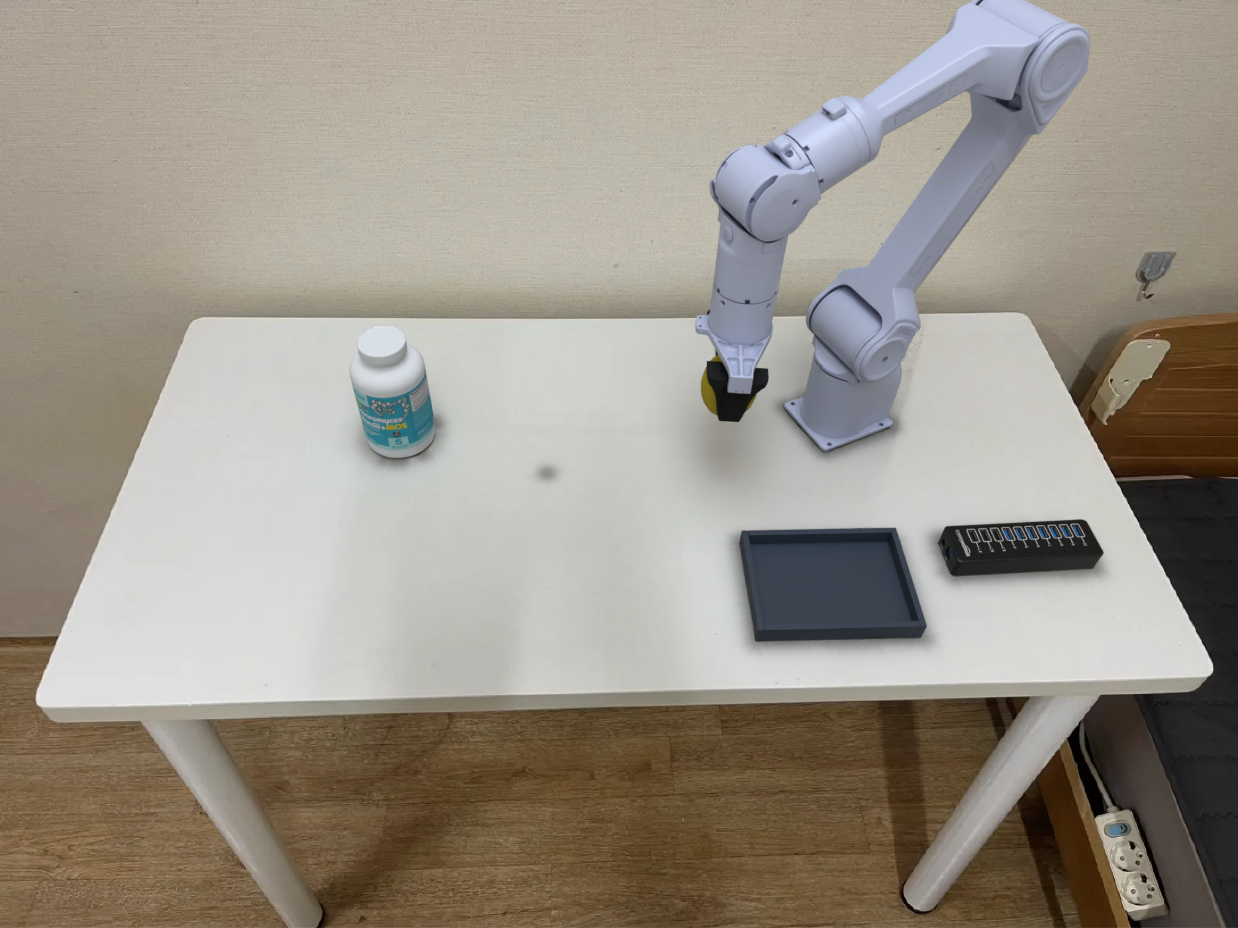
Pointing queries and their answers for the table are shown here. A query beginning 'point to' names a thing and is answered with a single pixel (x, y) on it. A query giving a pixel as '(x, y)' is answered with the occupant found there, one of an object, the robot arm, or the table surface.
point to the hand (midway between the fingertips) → (728, 397)
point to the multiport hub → (1019, 547)
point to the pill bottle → (392, 393)
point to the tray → (829, 585)
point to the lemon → (708, 392)
